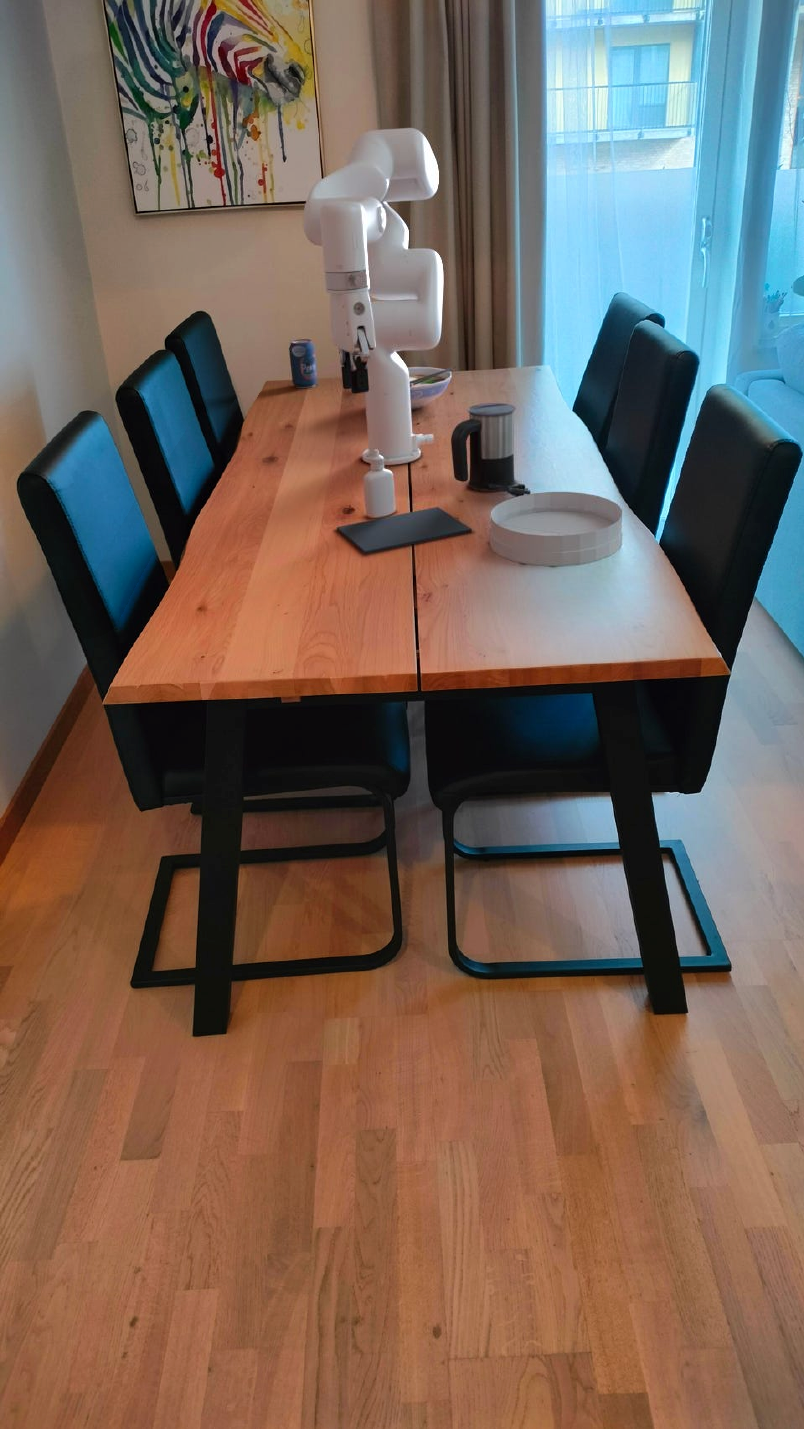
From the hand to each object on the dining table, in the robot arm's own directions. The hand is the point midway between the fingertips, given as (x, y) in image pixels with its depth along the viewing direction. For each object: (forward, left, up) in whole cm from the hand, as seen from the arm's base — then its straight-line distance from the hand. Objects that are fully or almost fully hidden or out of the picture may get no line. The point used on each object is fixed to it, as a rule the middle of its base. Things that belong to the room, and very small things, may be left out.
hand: (356, 389), depth 186 cm
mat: (0, +19, -21) cm, 28 cm away
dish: (-20, +37, -21) cm, 47 cm away
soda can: (-23, -104, -21) cm, 109 cm away
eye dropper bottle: (0, +8, -21) cm, 23 cm away
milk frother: (-25, +8, -21) cm, 34 cm away
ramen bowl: (-37, -64, -21) cm, 77 cm away
